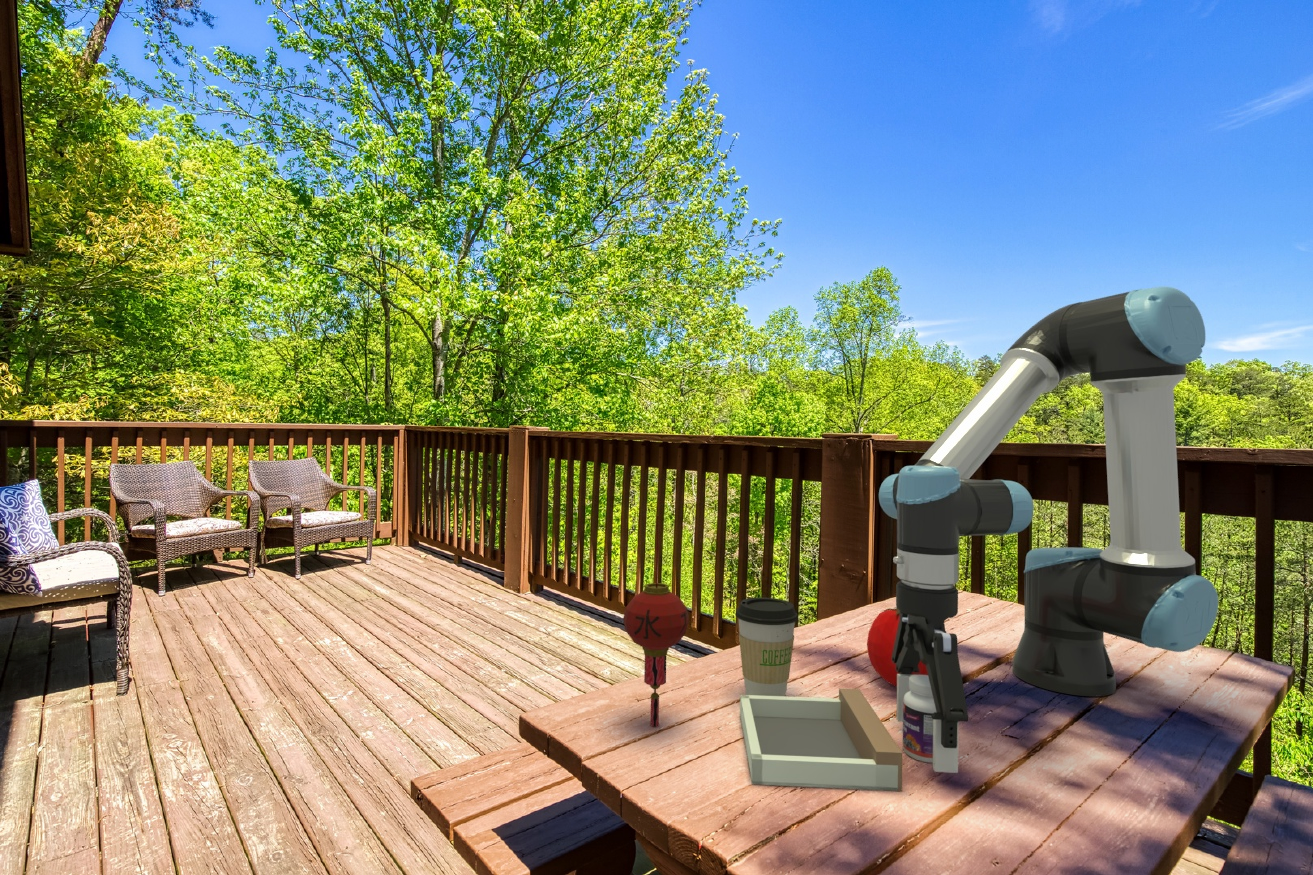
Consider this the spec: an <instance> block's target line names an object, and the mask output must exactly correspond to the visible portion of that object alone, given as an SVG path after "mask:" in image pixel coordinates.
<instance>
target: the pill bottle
mask: <svg viewBox="0 0 1313 875" xmlns="http://www.w3.org/2000/svg"><path fill="white" fill-rule="evenodd" d="M909 689H910V690H911V691H909V692H907V693H906V694H905V695H904V699H903V722H902V748H903V751H904V752H905V754H906V755H908V756H909V757H911V758H912V759H914V760H915V761H916V760H917V761H919V762H922V763H931V764H933V719H932V717H931V715H932V714H933V713H934V712H936V708H935V703H934V699H933V695H932V690H931V686H930V682H929V677H928V675H912V676H910V677H909Z"/></svg>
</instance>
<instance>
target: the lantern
mask: <svg viewBox="0 0 1313 875" xmlns="http://www.w3.org/2000/svg"><path fill="white" fill-rule="evenodd" d="M659 518H660V517H659V514H657V515H656V544H655V545H656V546H655V547H656V548H655V550H656V552H655V554H656V555H655V582H652V583H647V584H644V589H643V591H641V592H640V593H637V594H636V595H634V596H633V598H632V599H631V600H630V601H629V603H628V604H627V605H626V607H625V610H624V614H623V618H622V619H623V625H624V629H625V632H626V634H627V635H628V637H630V639H631V640H632V641H633V643H634V644H636V645H638V646H640V647H642V650H643V654H644V673H643V674H644V676H643V678H644V680H643V683H645V685H648V686H649V687H650V688H651V689H653V692H652V693H651V694H650V720H649V721H650V722H649V723H650V726H651V727H652V728H657V727H659V725H660V724H659V722H660V718H659V716H660V715H659V714H660V695H659V693H658V692H657V690H658V689H660V687H661V686H662V685H665V684H667V655H668V651H669V650H670V648H671V647H673V646H675V645H677V644H678V643H679V642H680V641H681V640H682V638H683V637H684V636H685V635H686V633H687V630H688V625H689V620H690V617H689V613H688V612H689V611H688V608H687V606H686V605H685V603H684V602H683V601H682V599H681V598H680V597H679V595H677V594H675V593H673V592H670V591H671V590H670V589H669V585H668V584H666V583H662V582H661V583H659V582H658V581H659V577H658V576H659V524H660V523H659V522H660V521H659Z"/></svg>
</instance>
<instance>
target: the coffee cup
mask: <svg viewBox="0 0 1313 875" xmlns="http://www.w3.org/2000/svg"><path fill="white" fill-rule="evenodd" d="M735 617H736V618H738V630H739V631H738V638H739V649H740V660H741V661H740V662H741V668H742V676H743V680H744V681H743V683H744V690H745V691H744V692H745V695H759V696H785V697H787V696H786V695H787V688H788V681H789V679H790V672H791V665H792V657H793V656H792V655H793V649H794V648H793V647H794V643H795V642H794V641H795V635H794V632H795V624H796V622H797V621H798V619H799V616H798V613H797V611H796V609H795V605H794V604H793V603H792V602H790V601H788V600H784V599H781V598H775V597H763V596H762V597H748V598H745V599H742V600H740V601H739V605H738V608H736V610H735Z"/></svg>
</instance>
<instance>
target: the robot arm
mask: <svg viewBox="0 0 1313 875" xmlns="http://www.w3.org/2000/svg"><path fill="white" fill-rule="evenodd" d="M1205 344H1206V328H1205V322H1204V319H1203V316H1202V314H1201V311H1200V310H1199V308H1198V306H1197V305H1196V303H1195V302H1194V301H1192V300H1191V298H1190V297H1189V296H1188V295H1187V294H1186V293H1185V292H1183V291H1181V290H1180V289H1178V288H1175V287H1171V286H1158V287H1157V286H1155V287H1149V288H1140V289H1133V290H1131V291H1127V292H1123V293H1121V292H1120V293H1118V294H1117V293H1116V294H1113V295H1108V296H1104V297H1100V298H1095V299H1092V300H1086V301H1079V302H1076V303H1071V304H1068V305H1065V306H1063V307H1061V308H1058V309H1056V310H1054V311H1052V312H1050V313H1049V314H1047V315H1046V316H1045V317H1043V318H1042V319H1040V320H1039V321H1038V322H1036V323H1035V324H1034V325H1032V326H1031V327H1030V328H1029V329H1028V330H1026V331H1025V332H1024V333H1023V334H1022V335H1021V336H1020V337H1019V338H1017V339H1016V340H1015V341H1014V343H1013V344H1011V346H1010V347H1009V348H1008V349H1007V350H1006V351H1005V352H1004V353H1003V355H1002V356H1001V359H1000V368H999V369H998V370H997V371H996V372H995V373H994V374H993V375H992V376H991V378H990V379H989V380H988V381H987V382H986V383H985V385H983V387H982V388H981V389H980V390H979V392H977V394H976V395H974V397H973V398H972V400H971V401H970V402H969V403H968V404H967V405H966V406H965V407H964V408H963V410H962V411H961V412H960V413H959V414H958V415H957V416H956V418H954V419H953V421H952V422H951V423H950V424H949V425H948V426H947V428H945V430H944V431H943V432H942V434H940V436H939V437H938V438H937V439H936V440H935V441H934V443H933V444H932V445H931V446H930V447H929V448H928V449H927V451H925V453H924V454H923V455H922V456H921V457H920V459H919V460H918V461H917V462H916V463H915V464H914V465H906V466H904V467H902V468H901V469H900V471H899V472H898V473H894V474H891V475H889V476H887V477H886V478H884V480H883V482H882V483H881V485H880V487H879V490H878V491H879V492H878V501H879V505H880V507H881V509H882V511H883V512H884V513H885V514H886V515H887V516H888V517H889V518H890V517H891V518H893V519H896V553H897V554H896V556H894V557H893V559H892V560H893V563H894V565H895V564H896V576H897V578H899V581H897V583H895V584H896V586H895V588H896V590H895V592H896V593H895V607H897V609H898V610H899V611H900V615H899V624H898V629H897V633H896V638H895V643H894V648H893V653H892V658H891V659H892V662H893V663H896V665H895V668H896V671H897V672H899V674H897V687H896V721H897V722H899V723H900V722H901V723H903V699H904V695H905V694H906V693H907V692H909V691H911V690H910V689H909V677H910V676H912V675H914V674H912V673H920V672H919V671H920V669H919V667H918V665H919V662H920V660H921V662H922V663H923V664H925V665H926V668H927V673H928V677H929V682H930V686H931V690H932V695H933V699H934V703H935V708H936V712H934V713H933V714H932V715H931V717H932V719H933V763H932V770H933V771H934V772H935V773H936V772H937V773H951V774H952V773H953V774H954V773H955V774H958V773H959V733H960V732H959V730H960V729H959V728H960V726H959V722H964V723H965V722H969V713H968V706H967V700H966V695H965V689H964V683H963V677H962V671H961V665H960V659H959V654H958V653H959V652H958V650H959V649H958V647H959V646H958V636H957V634H956V633H947V630H946V624H945V621H946V620H948V619H952V618H955V617H956V616H957V615H958V612H959V589H958V588H957V586H956V585H957V583H959V582H960V548H959V546H960V537H970V536H972V537H973V536H997V535H998V536H999V537H1003V536H1006V535H1011V534H1017V533H1021V532H1022V531H1024V530H1026V528H1027V527H1029V526H1030V524H1031V522H1032V520H1033V518H1034V517H1033V516H1034V511H1035V510H1034V500H1033V498H1032V496H1031V494H1030V492H1029V491H1028V490H1027V488H1026V487H1024V486H1023V485H1022V484H1020V483H1019V482H1016V481H1013V480H1004V479H995V478H994V479H991V480H988V479H987V480H985V479H972V478H971V477H972V476H973V475H974V473H975V472H976V471H977V470H978V469H979V468H980V467H981V465H983V463H984V462H985V461H986V459H987V458H988V457H989V456H990V455H991V453H993V451H994V450H995V449H996V448H997V446H998V445H999V444H1000V443H1001V442H1002V441H1003V439H1004V438H1005V437H1006V436H1007V434H1009V433H1010V431H1011V430H1012V428H1014V426H1015V425H1016V424H1017V423H1018V421H1020V420H1021V418H1022V417H1023V416H1024V415H1025V414H1026V412H1027V411H1028V410H1029V409H1030V407H1031V406H1033V404H1034V403H1035V402H1036V401H1037V399H1038V398H1039V397H1040V396H1041V394H1046V393H1049V392H1051V391H1053V390H1054V389H1056V388H1057V386H1058V385H1059V384H1060V383H1061V382H1062V381H1063V380H1065V379H1066V378H1067V379H1068V378H1070V377H1071V376H1075V375H1078V374H1089V376H1090V377H1089V378H1090V385H1092V386H1093V387H1095V388H1096V389H1097V390H1099V392H1101V393H1102V398H1103V403H1102V404H1103V418H1104V420H1103V421H1104V436H1105V455H1106V456H1105V457H1106V475H1107V477H1106V478H1107V495H1108V499H1107V500H1108V516H1109V532H1110V533H1109V534H1110V543H1109V545H1108V546H1107V547H1106V548H1104V549H1101V548H1097V547H1074V546H1073V547H1063V546H1062V547H1040V548H1039V547H1038V548H1037V547H1036V548H1032V549H1030V550H1029V551H1028V552H1027V553H1026V556H1025V563H1024V564H1025V566H1024V570H1023V575H1024V579H1023V580H1024V581H1023V582H1024V585H1023V586H1024V589H1023V590H1024V593H1023V594H1024V629H1023V632H1022V635H1021V638H1020V640H1019V643H1018V645H1017V648H1016V650H1015V653H1014V655H1013V657H1012V672H1013V674H1014V676H1015V677H1016V678H1018V679H1020V680H1022V681H1023V682H1025V683H1028V684H1030V685H1033V686H1036V687H1039V688H1041V689H1044V690H1049V691H1051V692H1057V693H1060V694H1066V695H1071V696H1072V695H1073V696H1079V697H1081V696H1082V697H1105V696H1109V695H1112V694H1115V692H1116V691H1117V688H1116V687H1117V678H1116V673H1115V671H1114V668H1113V665H1112V662H1111V659H1110V656H1109V652H1108V651H1107V648H1106V645H1105V642H1104V634H1109V635H1112V636H1115V637H1118V638H1123V639H1125V640H1129V641H1133V642H1135V643H1139V644H1142V645H1145V646H1147V647H1148V648H1153V649H1156V648H1158V649H1161V650H1166V651H1169V652H1175V653H1182V652H1187V651H1190V650H1192V649H1194V648H1196V647H1198V646H1199V645H1200V644H1201V643H1202V642H1204V641H1205V639H1206V638H1207V636H1208V635H1209V633H1211V631H1212V628H1213V627H1214V624H1215V622H1216V620H1217V615H1218V609H1219V595H1218V592H1217V589H1216V588H1215V586H1214V584H1213V583H1212V581H1210V580H1209V579H1208V578H1206V577H1204V576H1202V575H1197V574H1196V559H1195V558H1194V557H1193V556H1192V555H1191V554H1189V553H1188V552H1187V551H1186V550H1184V549H1183V548H1182V538H1181V536H1182V534H1181V517H1180V516H1181V514H1180V498H1179V496H1180V495H1179V478H1178V477H1179V476H1178V474H1179V473H1178V456H1177V454H1178V453H1177V438H1176V415H1175V394H1174V389H1175V388H1176V386H1177V385H1178V384H1179V383H1181V382H1182V381H1183V380H1184V379H1185V378H1186V377H1187V374H1186V373H1187V371H1186V365H1188V364H1190V363H1192V362H1194V361H1196V360H1197V359H1198V358H1199V357H1201V354H1202V353H1203V348H1204V346H1205ZM970 478H971V479H970ZM899 653H900V655H899Z"/></svg>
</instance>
